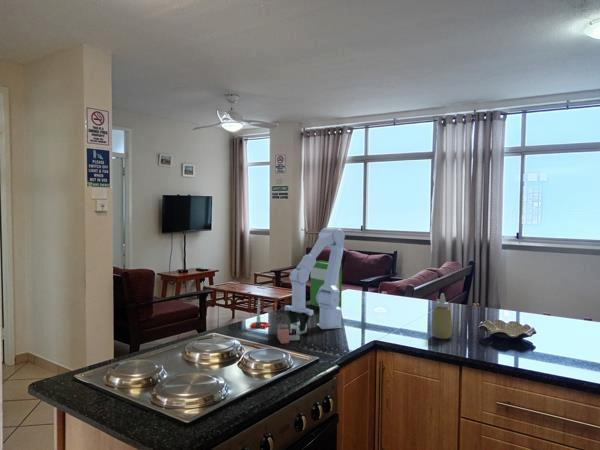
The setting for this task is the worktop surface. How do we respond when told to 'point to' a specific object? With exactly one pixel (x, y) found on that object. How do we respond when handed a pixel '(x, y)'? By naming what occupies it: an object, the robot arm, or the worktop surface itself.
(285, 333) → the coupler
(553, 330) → the worktop surface
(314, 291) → the hardback book
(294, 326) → the lock block
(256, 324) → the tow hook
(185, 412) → the worktop surface
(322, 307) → the robot arm
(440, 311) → the squeeze bottle
